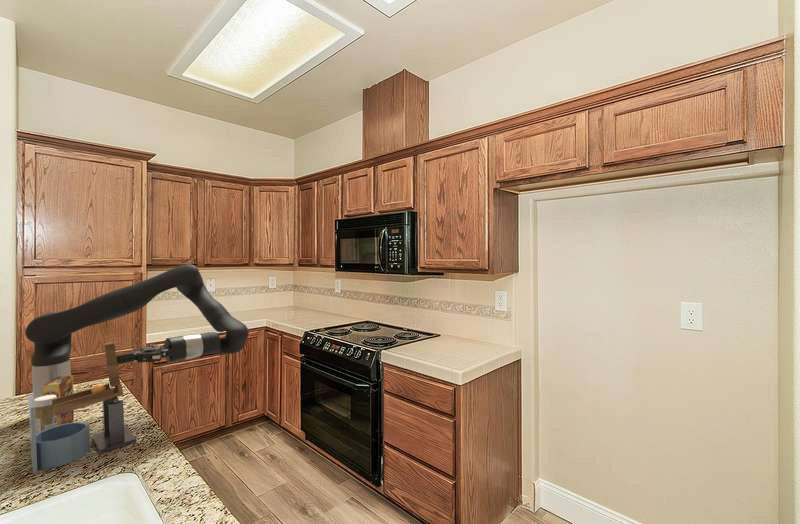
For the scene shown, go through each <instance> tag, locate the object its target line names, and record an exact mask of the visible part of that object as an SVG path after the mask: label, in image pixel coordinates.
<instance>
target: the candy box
mask: <svg viewBox="0 0 800 524" xmlns="http://www.w3.org/2000/svg"><path fill="white" fill-rule="evenodd" d="M42 388H43V396H46V395H56V396H57V398H59V397H63V396H66V395H70V394H73V393H74V375H73V374H71V375H66V376H59V377H56V378H55V379H53V380H51V381H50V382H48V383H46V384H45V385H43V386H42ZM74 411H75V410H73V411H70V412H66V413H63V414H60V415H57V426H58V425H62V424H66V423H73V422H75V420H74V418H75V416H74Z"/></svg>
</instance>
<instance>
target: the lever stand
mask: <svg viewBox="0 0 800 524" xmlns="http://www.w3.org/2000/svg"><path fill="white" fill-rule="evenodd" d="M112 401H113V402H112ZM112 401H111V400H110V399H108V400H105V401H102V418H103V419H102V420H103V421H102V422H103V431H102V432H99V433H95V434H92V435H91V437H92V438H91V439H92V440H93V441H92V442H93V443H94V445H95V447H96V449H97V451H98V453H99V454H102V455H103V454H105V453H107V452H111V451H113V450H118V449H120V448H123V447H127V446H129V445H133V444H134V443H137V438H136V436H135V435H134V434H133V432H132V430H131V429H130V428H129V427H128V425H125V415H124V413H125V411H124V401H123V400H122V399H121V400H120V399H119V397H118V398H113V400H112Z"/></svg>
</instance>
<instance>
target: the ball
mask: <svg viewBox="0 0 800 524" xmlns="http://www.w3.org/2000/svg"><path fill="white" fill-rule="evenodd" d="M104 385H105V384H102V383H98V384H95V385H94V386H93V387H91V388H92V390H91V392H92V394H94V393H97V392H101V391H104V390H105V386H104Z"/></svg>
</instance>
